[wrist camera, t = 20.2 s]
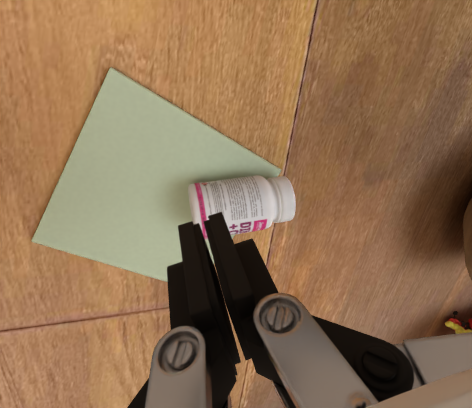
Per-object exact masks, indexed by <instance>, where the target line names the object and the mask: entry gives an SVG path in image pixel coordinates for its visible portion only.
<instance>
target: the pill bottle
mask: <svg viewBox="0 0 472 408" xmlns="http://www.w3.org/2000/svg"><path fill="white" fill-rule="evenodd" d="M188 196H189V204H190V210H191V216H192V221H193V224H197V223H199V224H200V227H201V230H202V233H203V236H204V238H205V239H208V237H207V233H206V229H205V226H204V222H203V221H206V220H209V218H208V216H209V215H213V214H216V213H219V212H222V214H223V216H224V219H225V222H226V224H227V227H228V229H229V232H230V235H234V234H240V233H246V232H252V231H258V230H263V229H267V228H269V227H270V226H271V224H272V222H274V223H281V222H286V221H290V220H292V219H293V217H294V214H295V208H296V203H295V195H294V190H293V187H292V185H291V182H290V181H289V179H288V178H287V177H285V176H281V177H272V178H268V179H267V180H266V179H265V178H264V177H262V176H259V175H255V176H247V177H240V178H233V179H226V180H218V181H211V182H202V183H193V184H190V185H189V187H188Z"/></svg>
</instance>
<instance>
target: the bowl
mask: <svg viewBox="0 0 472 408" xmlns="http://www.w3.org/2000/svg"><path fill="white" fill-rule="evenodd" d="M463 237H464V253H465V262H466V267H467V270H468V273H469V275H470V277H471V279H472V198H471V200H470V202H469V204H468V207H467V209H466V211H465V214H464V219H463Z"/></svg>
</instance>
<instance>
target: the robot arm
mask: <svg viewBox="0 0 472 408" xmlns="http://www.w3.org/2000/svg"><path fill="white" fill-rule="evenodd" d="M208 218H209V220H206V221H203V222H204V226H205V229H206V233H207V237H208V241H209V244H210V248H211V252H212V255H213V259H214V263H215V267H216V270H217V273H216V270H215V267H214V264H213V261H212V258H211V256H210V253H209V250H208V247H207V244H206V241H205V238H204V236H203V233H202V230H201V227H200V224H199V223H197V224H193V221H190V222H187V223H184V224H181V225H178V232H179V239H180V246H181V254H182V262H179V263H176V264H173V265H170V266H168V267H167V279H168V294H169V309H170V324H171V330H170V331H169V332H167V333H166V334H165V335H164V336H163V337H162V338H161V339H160V340H159V342H158V343H157V345H156V347H155V349H154V352H153V355H152V362H151V369H150V376H149V379H148V380H147V381H146V383H145V384H144V385H143V387H142V388H141V390H140V391H139V392H138V394H137V395H136V396H135V398H134V399H133V401H132V402H131V403H130V405H129V406H128V407H127V408H232V405H231V397H230V392H231V390H232V388H233V386H234V384H235V382H236V381H237V380H236V375H237V371H236V367H235V364H237V363H240V362H241V361H240V357H239V353H238V350H237V346H236V342H235V338H234V335H233V331H232V327H231V323H230V320H229V316H228V312H229V315H230V317H231V320H232V323H233V326H234V329H235V331H236V334H237V337H238V340H239V343H240V345H241V348H242V351H243V354H244V357H245V359H246V360H248V359H251V358H252V361H253V364H254V367H255V370H256V373H258V374H260V375H262V376H264V377H266V378H268V379H270V380H271V382H272V385H273V387H274V389H275V391H276V393H277V395H278V397H279V399H280V401H281V403H282V405H283V407H284V408H472V332H468V333H459V334H451V335H442V336H433V337H424V338H416V339H407V340H403V343H402V344H394V345H392V344H390V343H388V342H386V341H384V340H381V339H378V338H375V337H372V336H370V335H367V334H364V333H361V332H358V331H355V330H352V329H350V328H347V327H344V326H341V325H338V324H335V323H332V322H329V321H327V320H324V319H321V318H318V317H315V316H312V315H311V314H310V313H309V312H308V310H307V309H306V308H305V306H304V305H303V304H302V303H301V302H300V301H299V300H298V299H297V298H296V297H294V296H292V295H290V294H285V293H278V291H277V288H276V286H275V284H274V282H273V280H272V278H271V276H270V274H269V272H268V270H267V268H266V266H265V263H264V261H263V259H262V257H261V255H260V253H259V251H258V249H257V247H256V245H255V243H254V241H253V239H249V240H246V241H243V242H240V243H237V244H234V242H233V240H232V237H231V235H230V232H229V229H228V227H227V224H226V222H225V219H224V216H223V214H222V212H219V213H216V214H213V215H209V216H208ZM217 274H218V276H217ZM218 278H219V279H218ZM219 281H220V283H219ZM220 285H221V286H220ZM221 289H222V290H221ZM222 292H223V294H222ZM223 296H224V297H223ZM224 299H225V301H224ZM225 303H226V305H225ZM226 306H227V309H228V312H227V309H226Z"/></svg>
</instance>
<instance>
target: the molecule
mask: <svg viewBox="0 0 472 408" xmlns="http://www.w3.org/2000/svg"><path fill="white" fill-rule="evenodd" d="M453 314H454V318H450V319H449V320H448V321H447V322H445V325H446V326H447V327H451V328H452V329H453V330H455V332H456V334H459V333H468V332H472V319H469V320H468V321H469V323H465V322H463V321H461V322H459V321H458V320H457V319H455V315H457V314H458V312H457V311H454V312H453ZM465 330H466V331H465Z"/></svg>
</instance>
